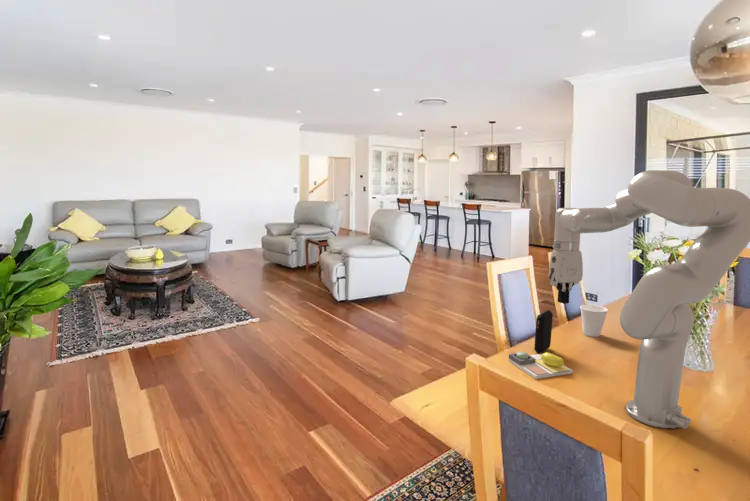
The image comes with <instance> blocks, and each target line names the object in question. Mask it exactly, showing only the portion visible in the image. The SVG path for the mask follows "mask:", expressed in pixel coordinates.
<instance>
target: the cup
mask: <svg viewBox="0 0 750 501" xmlns="http://www.w3.org/2000/svg"><path fill="white" fill-rule="evenodd" d="M579 307H580V315H581V325H582V326H581V327H582V334H583V335H585V336H587V337H591V338H598V337H600V336H601V333H602V330H603V326H604V323H605V320H606V316H607V313H608V311H609V309H608V308H606V307H605V306H601V305H597V304H596V305H595V304H581V305H580V306H579Z"/></svg>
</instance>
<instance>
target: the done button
mask: <svg viewBox="0 0 750 501" xmlns="http://www.w3.org/2000/svg"><path fill="white" fill-rule="evenodd" d="M516 353H517V354H516V357H517V358H519V359H520V360H522V359H528V355H529V354H528V352H526V351H517V352H516Z"/></svg>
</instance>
